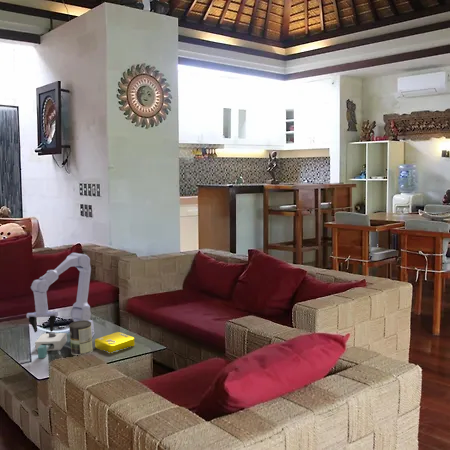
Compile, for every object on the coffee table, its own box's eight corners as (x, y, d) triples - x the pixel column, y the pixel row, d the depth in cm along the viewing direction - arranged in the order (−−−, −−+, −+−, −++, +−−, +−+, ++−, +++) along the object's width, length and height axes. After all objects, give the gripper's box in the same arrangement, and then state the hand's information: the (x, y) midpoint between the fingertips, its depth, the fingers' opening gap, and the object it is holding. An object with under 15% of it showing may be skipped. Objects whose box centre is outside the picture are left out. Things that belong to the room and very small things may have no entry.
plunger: (56, 336, 282) (55, 332, 281) (54, 338, 279) (54, 334, 278) (50, 336, 282) (49, 332, 281) (48, 338, 279) (48, 334, 278)
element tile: (136, 346, 275) (136, 336, 275) (111, 355, 265) (110, 345, 264) (118, 339, 286) (118, 330, 285) (93, 347, 275) (92, 338, 275)
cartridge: (47, 347, 276) (46, 337, 276) (53, 347, 276) (52, 337, 276) (38, 358, 262) (37, 348, 262) (44, 357, 262) (43, 348, 262)
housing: (43, 342, 284) (42, 333, 284) (67, 341, 285) (66, 332, 284) (35, 350, 273) (35, 342, 272) (60, 350, 273) (59, 341, 272)
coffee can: (69, 356, 264) (66, 327, 262) (73, 348, 274) (71, 321, 272) (91, 355, 265) (89, 326, 263) (94, 347, 275) (92, 319, 273)
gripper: (23, 307, 265) (26, 334, 267) (54, 306, 265) (56, 333, 268) (28, 303, 272) (30, 329, 274) (58, 301, 272) (60, 328, 274)
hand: (43, 331), depth 271 cm, fingers open, 7 cm apart
